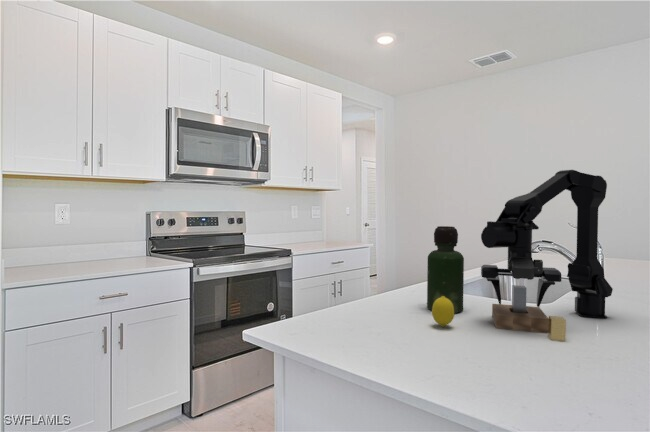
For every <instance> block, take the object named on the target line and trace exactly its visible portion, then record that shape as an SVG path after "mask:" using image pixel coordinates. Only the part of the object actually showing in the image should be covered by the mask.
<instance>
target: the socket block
mask: <svg viewBox="0 0 650 432" xmlns="http://www.w3.org/2000/svg"><path fill="white" fill-rule="evenodd" d="M491 306H492V307H491V315H492V320H493V324H494V327H495V329H501V330H510V331H511V330H512V331H521V330H523V331H524V332H532V331H533V333H534V332H535V333H546V334H548V323H549V316H547V314H546V313H545V312H544V311H543V310H542V308H540V306H539V307H537V306H527V305H526V313H515V312H512V304H502V303H501V304H499V303H492V304H491ZM523 331H522V332H523Z"/></svg>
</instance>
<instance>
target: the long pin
mask: <svg viewBox="0 0 650 432" xmlns="http://www.w3.org/2000/svg"><path fill="white" fill-rule="evenodd" d="M511 305H512V312H515V313H526V306H527V287H526V286H525V285H516V284H515V285H513V284H512V286H511Z"/></svg>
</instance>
